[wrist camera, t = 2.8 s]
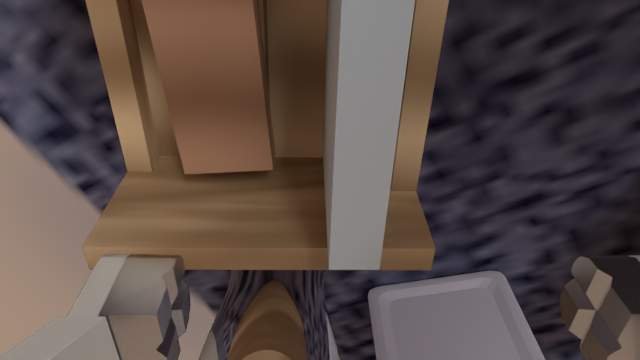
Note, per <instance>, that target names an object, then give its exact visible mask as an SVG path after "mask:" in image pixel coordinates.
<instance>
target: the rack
mask: <svg viewBox="0 0 640 360" xmlns="http://www.w3.org/2000/svg"><path fill="white" fill-rule="evenodd" d="M85 1H86V5H87V9H88V13H89V17H90V21H91V25H92V29H93V33H94V37H95V41H96V46H97V50H98V54H99V58H100V62H101V66H102V70H103V74H104V78H105V82H106V86H107V90H108V94H109V98H110V102H111V107H112V111H113V115H114V119H115V123H116V127H117V131H118V135H119V139H120V143H121V147H122V151H123V155H124V159H125V164H126V168H127V173H126V175H125V176H124V178H123V180H122V181H121V183H120V185H119V186H118V188H117V190H116V191H115V193H114V195H113V196H112V198H111V200H110V201H109V203H108V205H107V206H106V208H105V210H104V211H103V213H102V215H101V216H100V218H99V220H98V222H97V223H96V225H95V226H94V228H93V230H92V232H91V233H90V235H89V237H88V238H87V240H86V241H85V243H84V245H83V246H82V248H83V251H84V254H85V257H86V260H87V263H88V266H89V269H94V267H95V265H96V263H97V262H98V260H99V258H100V257H102V256H103V255H105V254H157V255H180V256H182V257H183V260H184V265H185V269H186V270H329V265H328V245H327V225H326V206H325V186H324V166H323V147H322V140H323V108H324V76H325V44H326V12H327V0H266V6H267V33H268V59H269V85H270V110H271V119H272V128H273V137H274V145H275V159H274V167H273V170H264V171H244V172H223V173H203V174H185V173H184V169H183V165H182V161H181V157H180V153H179V149H178V145H177V141H176V137H175V133H174V129H173V125H172V121H171V117H170V113H169V109H168V105H167V101H166V97H165V93H164V89H163V85H162V81H161V77H160V73H159V69H158V65H157V61H156V57H155V53H154V49H153V45H152V41H151V37H150V33H149V29H148V25H147V21H146V17H145V13H144V9H143V5H142V1H141V0H85ZM448 3H449V0H415V5H414V13H413V20H412V28H411V35H410V43H409V50H408V58H407V66H406V73H405V81H404V88H403V96H402V103H401V111H400V118H399V126H398V133H397V141H396V149H395V156H394V164H393V171H392V179H391V186H390V194H389V201H388V209H387V217H386V224H385V232H384V239H383V247H382V254H381V262H380V269H379V270H431V267H432V263H433V258H434V254H435V246H434V243H433V240H432V237H431V234H430V231H429V228H428V225H427V222H426V219H425V216H424V213H423V210H422V207H421V204H420V201H419V198H418V195H417V192H416V190H417V184H418V179H419V173H420V167H421V161H422V155H423V149H424V144H425V138H426V132H427V126H428V120H429V114H430V109H431V103H432V97H433V91H434V85H435V79H436V74H437V68H438V62H439V56H440V50H441V44H442V38H443V33H444V27H445V21H446V15H447V9H448Z"/></svg>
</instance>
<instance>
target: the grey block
mask: <svg viewBox="0 0 640 360" xmlns="http://www.w3.org/2000/svg"><path fill="white" fill-rule="evenodd" d="M414 5H415V0H327V12H326V44H325V76H324V108H323V140H322V147H323V166H324V186H325V206H326V225H327V245H328V265H329V270H379V269H380V262H381V254H382V247H383V239H384V232H385V224H386V217H387V209H388V201H389V194H390V186H391V179H392V171H393V164H394V156H395V149H396V141H397V133H398V126H399V118H400V111H401V103H402V96H403V88H404V81H405V73H406V66H407V58H408V50H409V43H410V35H411V28H412V20H413V13H414Z"/></svg>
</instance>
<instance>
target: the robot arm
mask: <svg viewBox="0 0 640 360" xmlns="http://www.w3.org/2000/svg"><path fill="white" fill-rule="evenodd" d="M185 270H186V269H185V265H184V260H183V257H182V256H180V255H157V254H105V255H103V256H102V257H100V258H99V260H98V262H97V263H96V265H95V267H94V269H93V271H92V272H91V274H90V276H89V278H88V280H87V281H86V283H85V285H84V287H83V288H82V290H81V292H80V294H79V296H78V297H77V299H76V301H75V303H74V305H73V306H72V308H71V310H70V312H69V314H68V315H67V317H57V318H56V319H55V320H53V321H52V322H50V323H49V324H47V325H46V326H44V327H43V328H41V329H40V330H39V331H37V332H36V333H34V334H33V335H31V336H30V337H28V338H27V339H25V340H24V341H22V342H21V343H20V344H18V345H17V346H15V347H14V348H12V349H11V350H9V351H8V352H6V353H5V354H3V355H2V356H0V360H178V357H179V354H180V345H179V340H178V338H179V337H180V336H181V335H182V334H183V333H185V332H186V328H187V324H188V320H189V312H190V292H189V286H188V285H187V284H186V283H185V282H184V281H183V276H184V273H185ZM571 272H572V274H573V276H574V279H572V280H571V281H570V282H568V283H567V284H566V285H564V287H563V290H562V292H561V295H560V312H561V315H562V319H563V321H564V323H565V325H566V326H567V328H568V330H569V331H570V332H572V333H573V334H574V335H576V336H577V337H579V338H580V339H581V344H580V351H581V352H582V354H583V356H584V357H585V359H586V360H640V255H632V256H580V257H579V258H578V259H577V260H575V261H574V264H573V266H572V268H571Z"/></svg>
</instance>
